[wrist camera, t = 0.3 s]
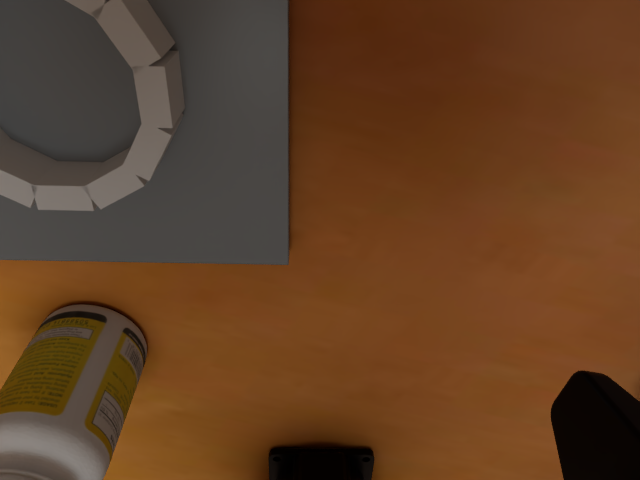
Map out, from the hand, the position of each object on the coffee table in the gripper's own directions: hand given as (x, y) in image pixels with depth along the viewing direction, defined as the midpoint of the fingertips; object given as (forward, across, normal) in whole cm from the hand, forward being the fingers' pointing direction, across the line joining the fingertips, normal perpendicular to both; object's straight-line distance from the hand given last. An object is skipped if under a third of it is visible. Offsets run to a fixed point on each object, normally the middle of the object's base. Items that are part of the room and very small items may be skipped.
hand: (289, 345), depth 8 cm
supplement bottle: (+14, +8, +16) cm, 23 cm away
